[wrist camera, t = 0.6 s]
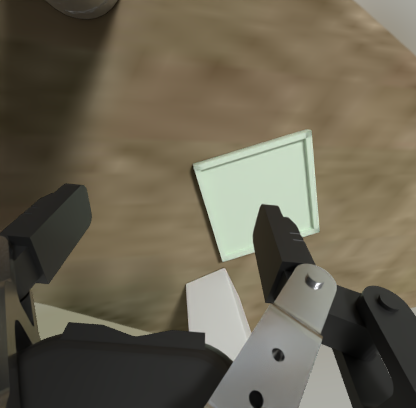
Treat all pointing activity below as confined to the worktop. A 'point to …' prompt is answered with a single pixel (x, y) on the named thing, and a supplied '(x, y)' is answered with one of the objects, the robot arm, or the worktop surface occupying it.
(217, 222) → the tray
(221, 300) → the milk carton
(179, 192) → the worktop surface
